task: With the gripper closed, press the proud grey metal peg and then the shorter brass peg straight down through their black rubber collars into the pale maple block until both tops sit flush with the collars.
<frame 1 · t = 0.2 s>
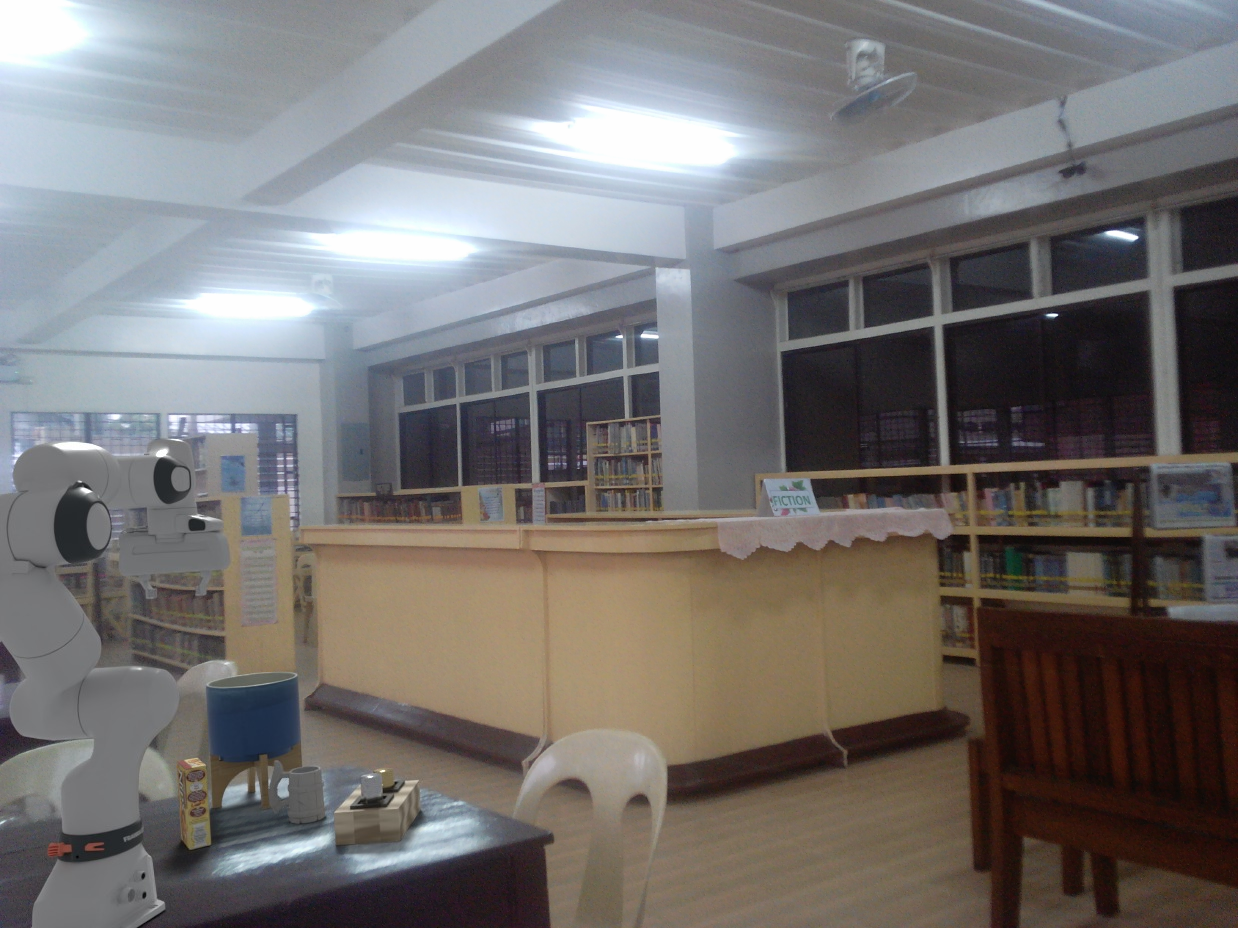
hand: (176, 596, 199), 48 cm above the table, fingers open, 8 cm apart
mug: (297, 819, 213), on the table
planter: (258, 800, 230), on the table
peg b: (384, 786, 209), point 6 cm above the table, slide at 0.0 cm
socket block: (380, 826, 204), on the table
candy box: (195, 843, 201), on the table
peg a: (371, 792, 200), point 8 cm above the table, slide at 0.0 cm
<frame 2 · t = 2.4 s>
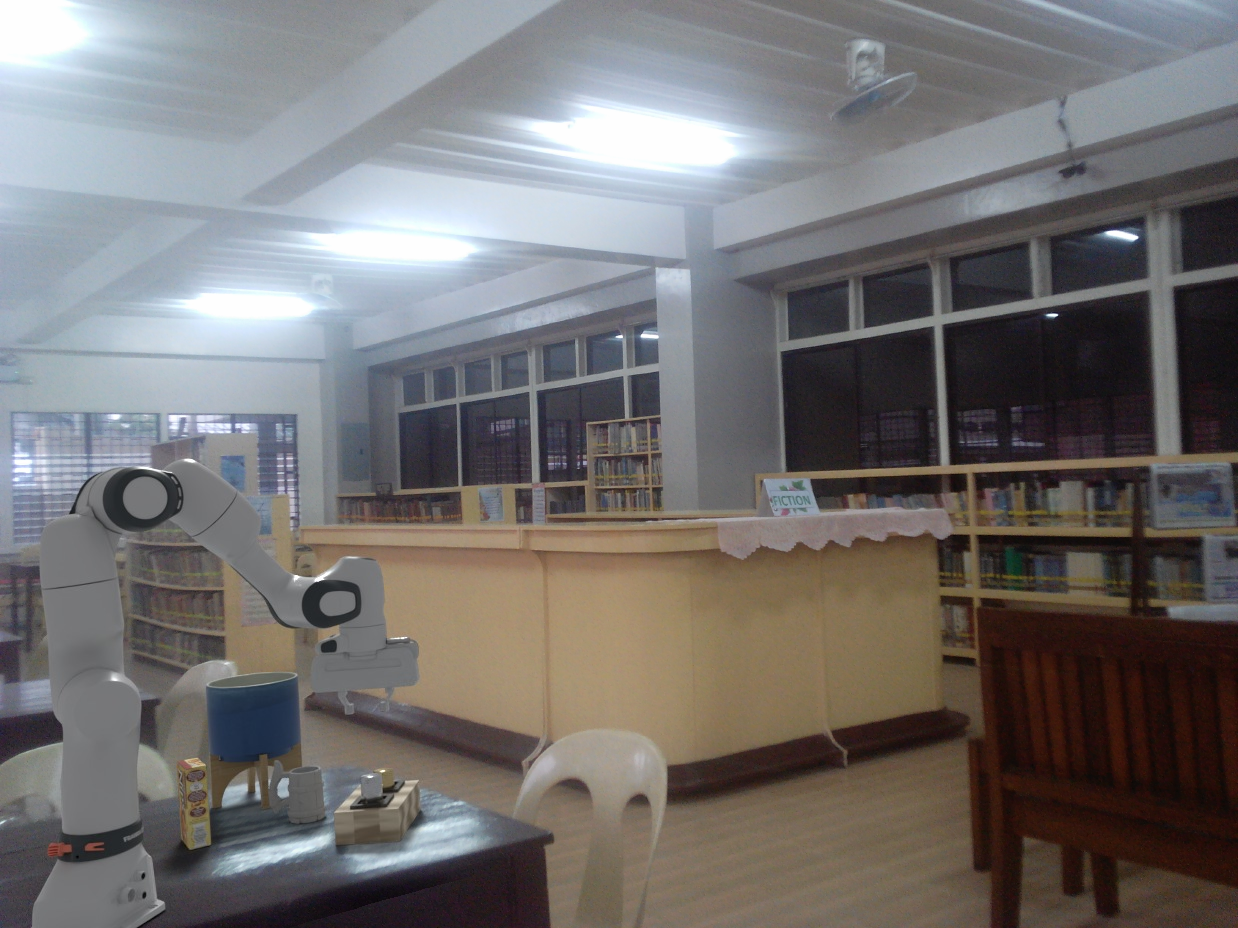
hand: (367, 712, 200), 23 cm above the table, fingers open, 5 cm apart
nothing on the table moved.
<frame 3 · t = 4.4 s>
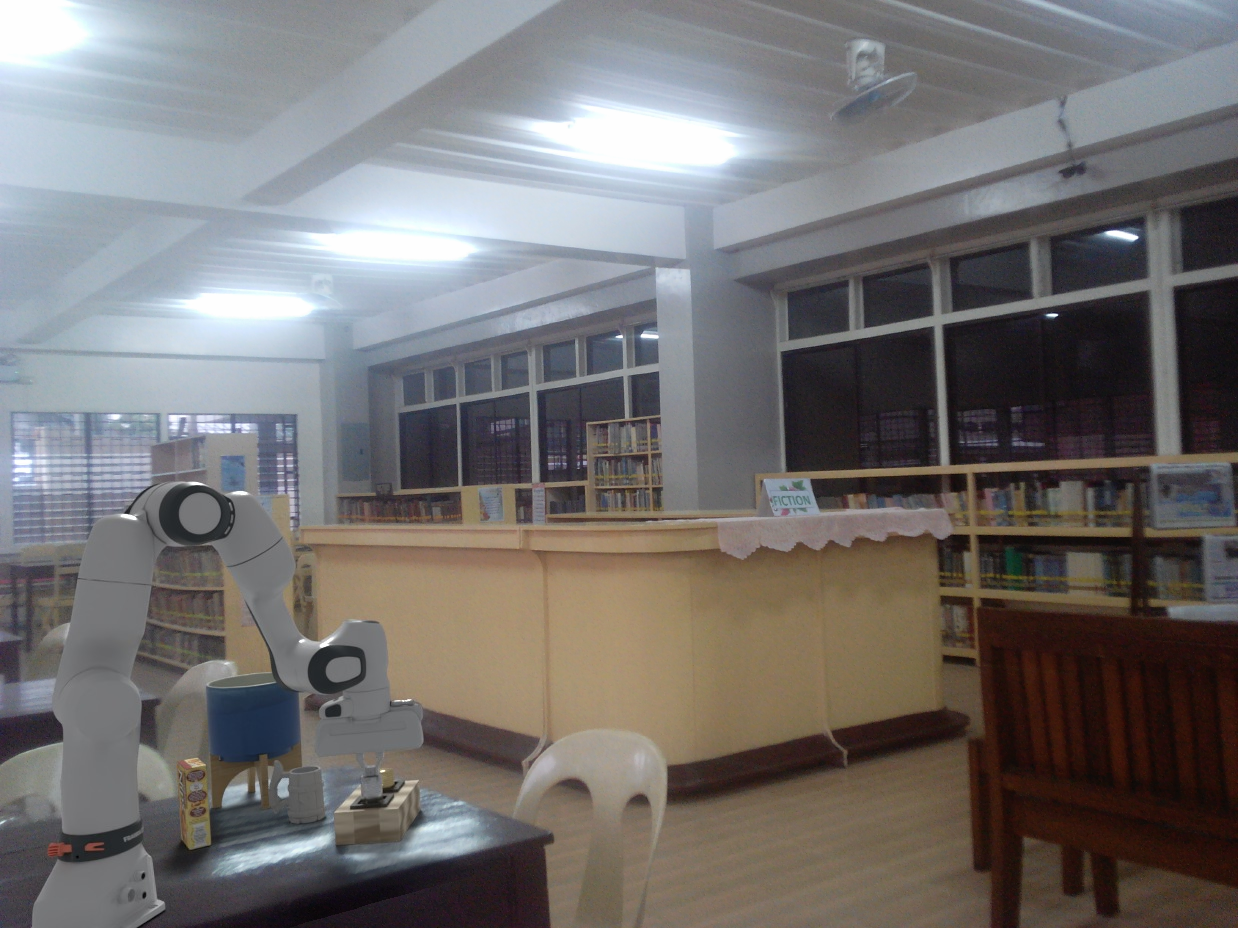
hand: (371, 775, 200), 11 cm above the table, fingers closed, pressing on peg a
peg a: (371, 792, 200), point 8 cm above the table, slide at 0.0 cm, touching gripper
everything else where it was.
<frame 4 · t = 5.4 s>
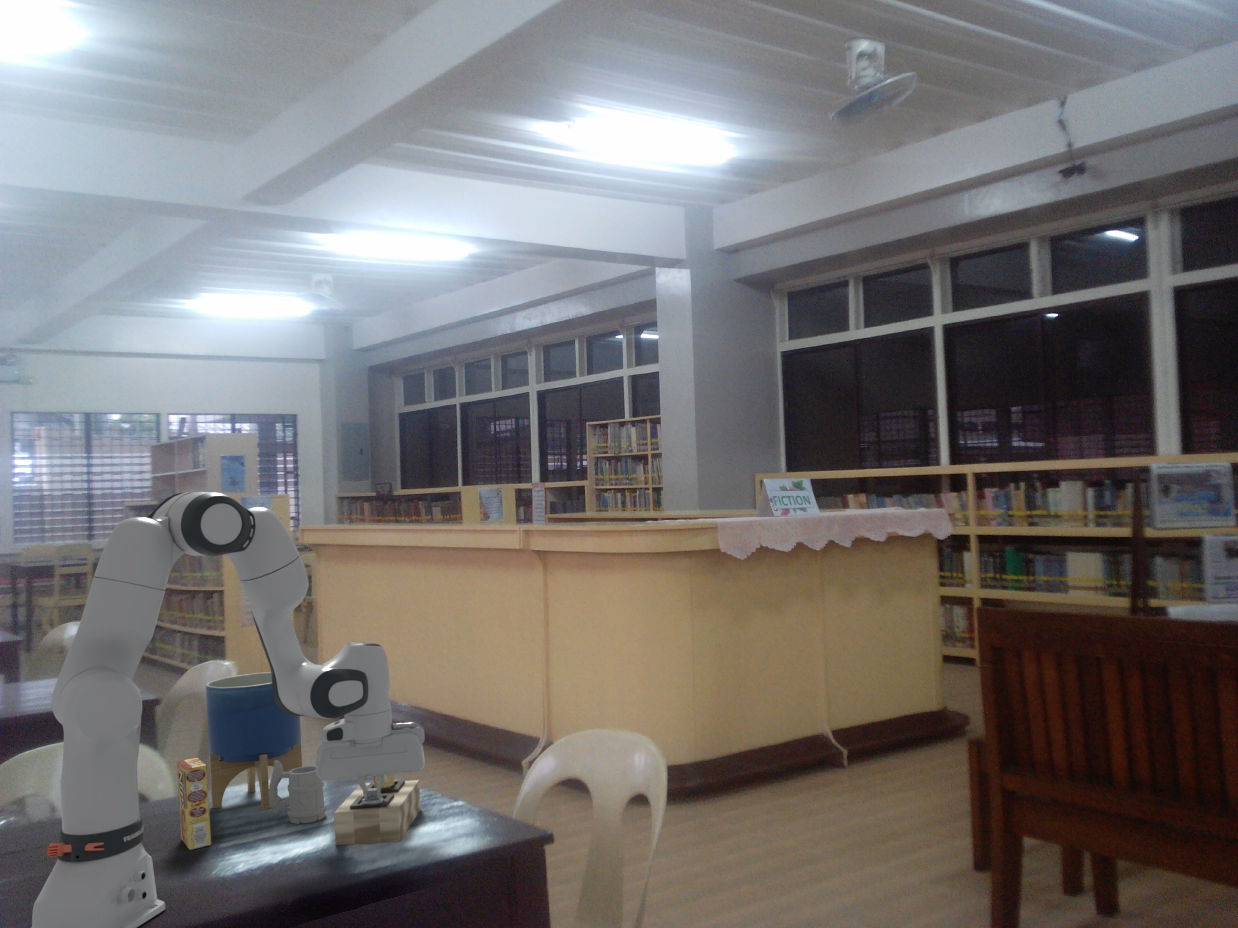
hand: (372, 798, 200), 7 cm above the table, fingers closed, pressing on peg a
peg a: (373, 815, 199), point 3 cm above the table, slide at 4.4 cm, touching gripper
everything else where it was.
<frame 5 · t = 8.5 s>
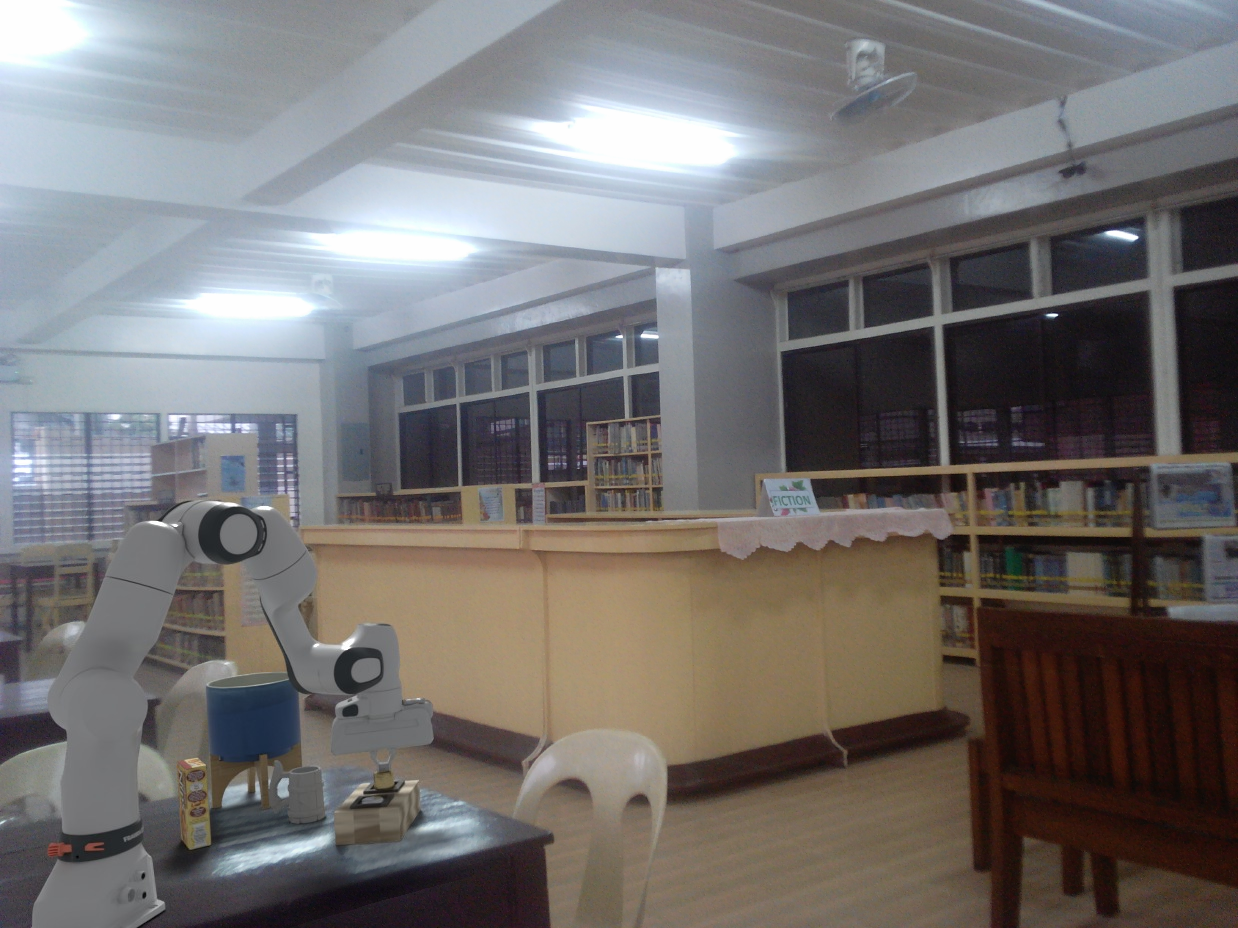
hand: (384, 771, 210), 9 cm above the table, fingers closed, pressing on peg b
peg b: (384, 788, 209), point 6 cm above the table, slide at 0.3 cm, touching gripper
peg a: (373, 816, 199), point 3 cm above the table, slide at 4.4 cm
everything else where it was.
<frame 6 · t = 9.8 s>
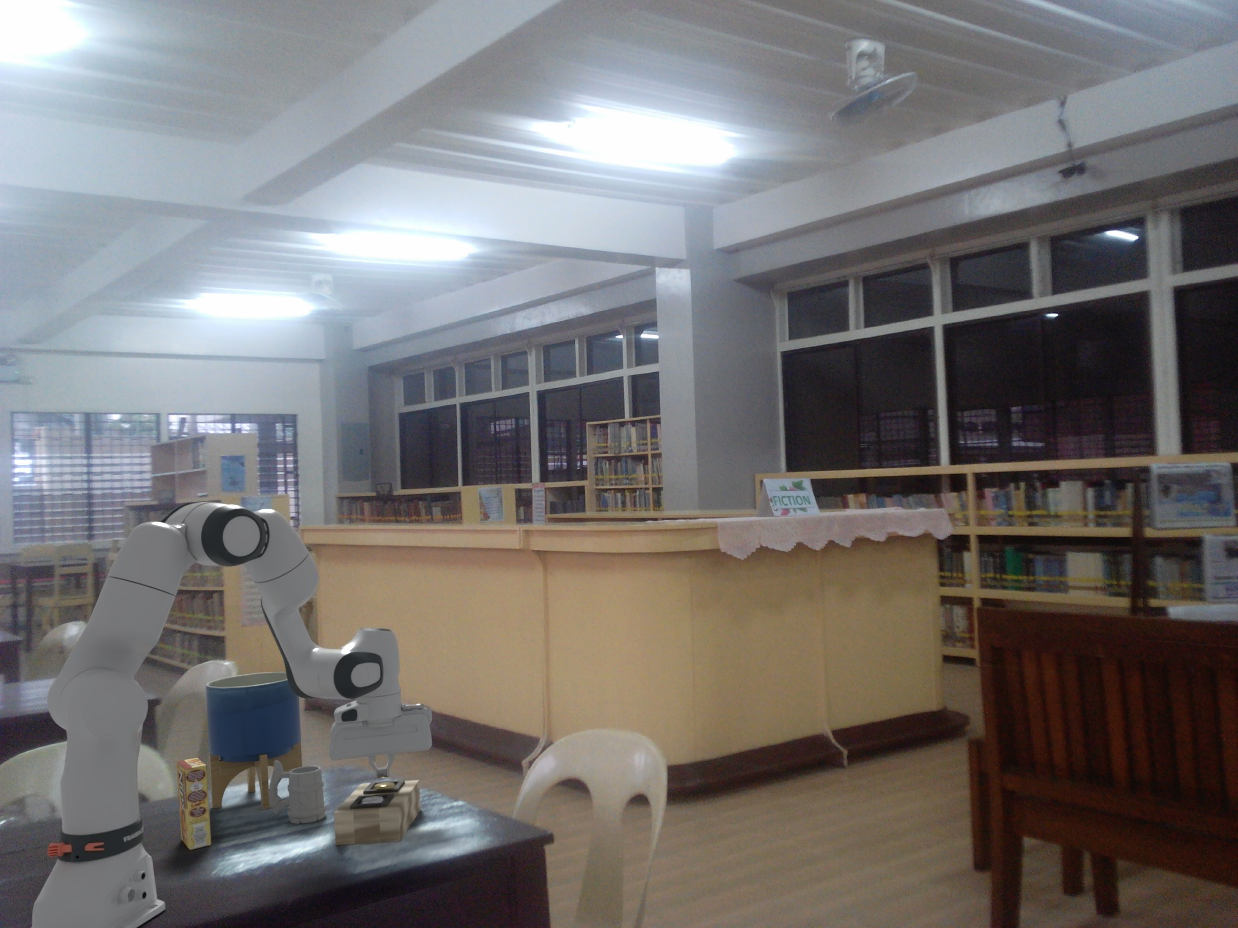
hand: (382, 777, 209), 8 cm above the table, fingers closed
peg b: (385, 801, 209), point 3 cm above the table, slide at 2.9 cm
everything else where it was.
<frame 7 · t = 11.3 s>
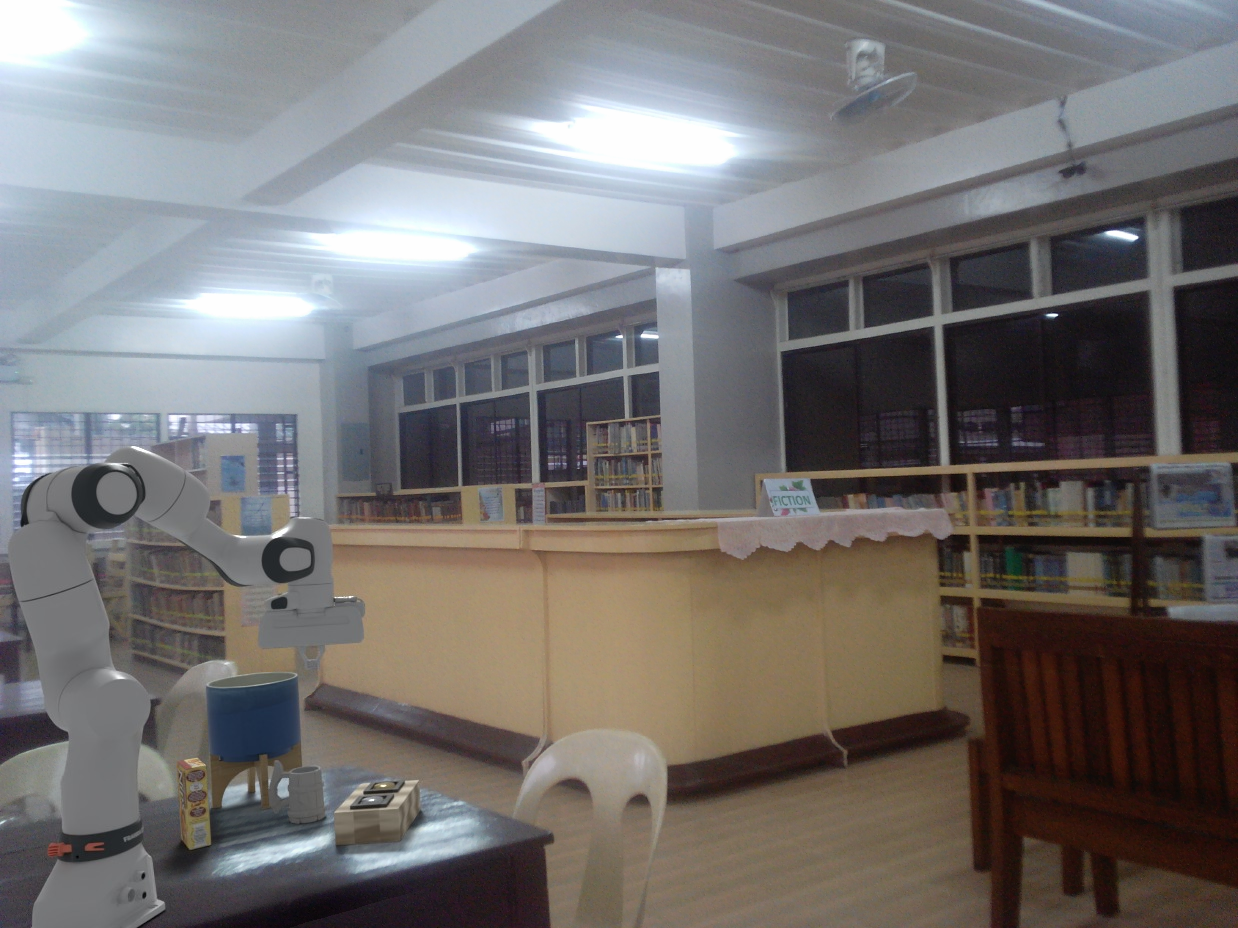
hand: (312, 668, 207), 31 cm above the table, fingers closed
nothing on the table moved.
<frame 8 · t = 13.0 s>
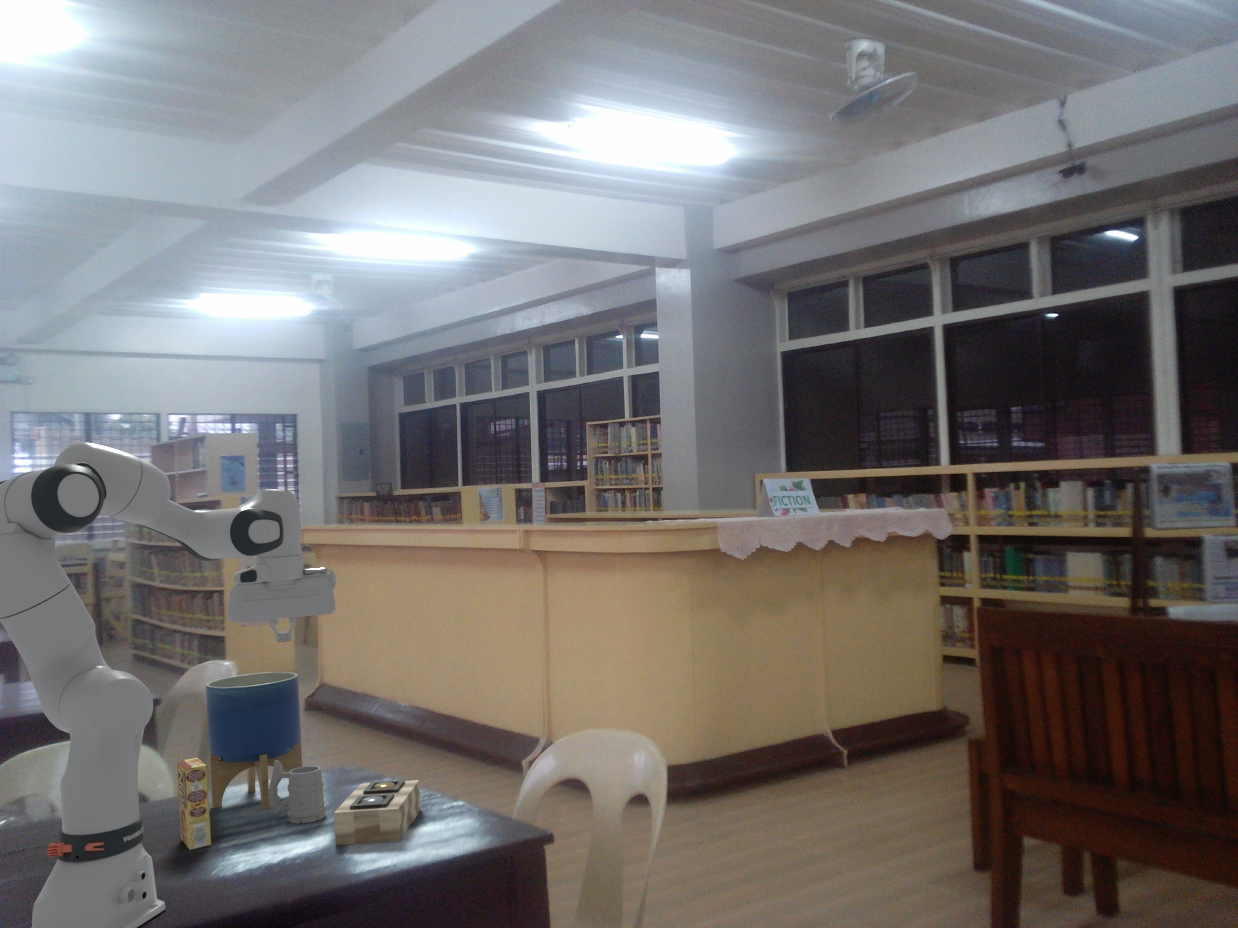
hand: (284, 641, 206), 37 cm above the table, fingers closed
nothing on the table moved.
at the end: peg a slide at 4.4 cm; peg b slide at 2.9 cm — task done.
